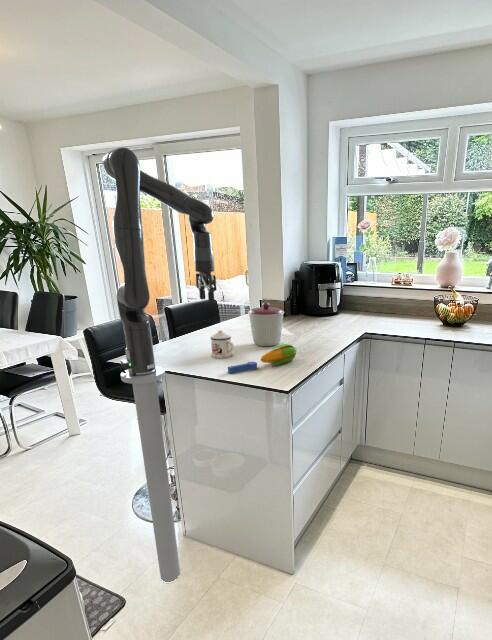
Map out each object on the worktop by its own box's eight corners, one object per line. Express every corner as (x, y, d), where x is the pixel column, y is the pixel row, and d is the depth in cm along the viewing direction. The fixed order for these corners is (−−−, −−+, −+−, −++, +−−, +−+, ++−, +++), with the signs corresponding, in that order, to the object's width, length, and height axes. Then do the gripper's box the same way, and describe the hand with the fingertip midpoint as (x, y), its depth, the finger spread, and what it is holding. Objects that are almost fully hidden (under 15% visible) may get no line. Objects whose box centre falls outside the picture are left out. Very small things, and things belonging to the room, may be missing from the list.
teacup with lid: (207, 356, 180) (205, 330, 176) (222, 352, 187) (220, 327, 183) (226, 360, 174) (224, 334, 170) (240, 356, 181) (239, 330, 177)
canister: (270, 350, 191) (269, 306, 184) (241, 345, 199) (239, 303, 192) (291, 343, 205) (291, 301, 198) (263, 338, 214) (262, 299, 207)
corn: (300, 342, 173) (267, 351, 159) (301, 359, 175) (268, 369, 161) (288, 341, 177) (254, 349, 163) (289, 357, 180) (256, 367, 166)
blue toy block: (231, 374, 155) (231, 368, 154) (226, 371, 158) (226, 366, 157) (258, 368, 162) (258, 363, 162) (253, 366, 165) (253, 361, 165)
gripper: (188, 258, 162) (191, 299, 167) (202, 260, 151) (205, 303, 157) (205, 258, 166) (208, 297, 171) (220, 259, 155) (223, 301, 161)
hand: (207, 300), depth 164 cm, fingers open, 8 cm apart
